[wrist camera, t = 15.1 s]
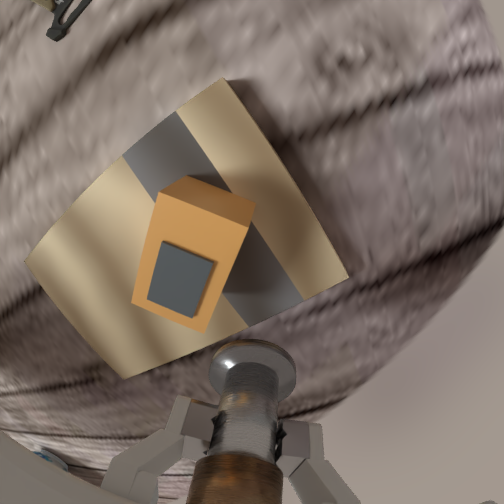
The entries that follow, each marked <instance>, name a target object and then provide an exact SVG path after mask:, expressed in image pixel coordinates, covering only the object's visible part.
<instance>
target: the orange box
mask: <svg viewBox="0 0 504 504" xmlns="http://www.w3.org/2000/svg"><path fill="white" fill-rule="evenodd" d="M255 205H256V203H255V202H252V201H250V200H248V199H245V198H243V197H240V196H238V195H235V194H233V193H230V192H228V191H225V190H223V189H220V188H218V187H215V186H213V185H210V184H208V183H205V182H203V181H200V180H197V179H195V178H192V177H190V176H187V175H186V176H184V177H182V178H181V179H179V180H177V181H176V182H174V183H172V184H171V185H169V186H167V187H166V188H164V189H162V190H161V191H159V192H158V196H157V199H156V202H155V206H154V209H153V213H152V217H151V220H150V224H149V228H148V232H147V235H146V239H145V243H144V247H143V251H142V255H141V260H140V264H139V268H138V273H137V277H136V282H135V286H134V291H133V296H132V301H131V303H133V304H135V305H137V306H139V307H142V308H144V309H146V310H148V311H150V312H153V313H155V314H157V315H160V316H162V317H164V318H167V319H169V320H171V321H174V322H176V323H178V324H181V325H183V326H186V327H188V328H191V329H193V330H195V331H198V332H200V333H203V334H204V333H205V330H206V328H207V326H208V323H209V321H210V318H211V316H212V314H213V311H214V309H215V306H216V304H217V302H218V299H219V297H220V294H221V292H222V290H223V287H224V285H225V283H226V280H227V278H228V275H229V273H230V271H231V268H232V266H233V264H234V261H235V259H236V257H237V254H238V252H239V250H240V247H241V245H242V243H243V240H244V238H245V236H246V233H247V231H248V229H249V225H250V222H251V219H252V215H253V212H254V209H255Z"/></svg>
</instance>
